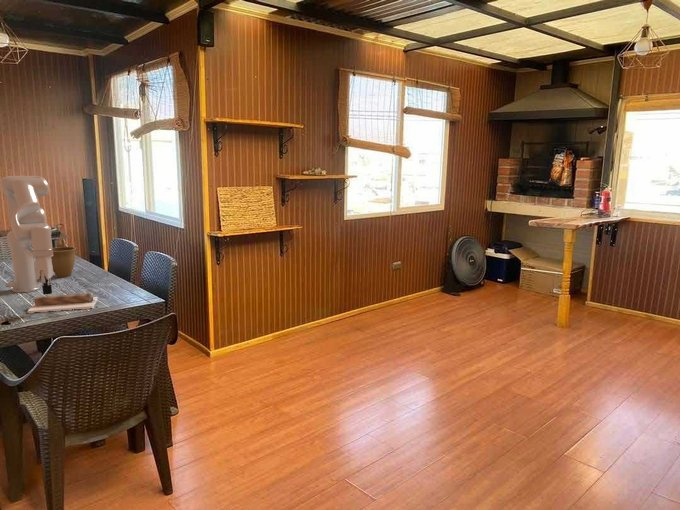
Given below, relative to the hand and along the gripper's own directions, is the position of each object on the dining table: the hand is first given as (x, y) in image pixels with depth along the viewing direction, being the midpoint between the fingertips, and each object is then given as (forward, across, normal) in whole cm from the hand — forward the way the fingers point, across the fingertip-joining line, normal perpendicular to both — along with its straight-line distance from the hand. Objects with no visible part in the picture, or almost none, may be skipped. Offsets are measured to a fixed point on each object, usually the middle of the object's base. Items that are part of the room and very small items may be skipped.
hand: (47, 293), depth 220 cm
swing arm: (+6, -7, +5) cm, 10 cm away
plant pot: (+7, -70, -7) cm, 70 cm away
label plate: (+8, -7, +5) cm, 11 cm away
